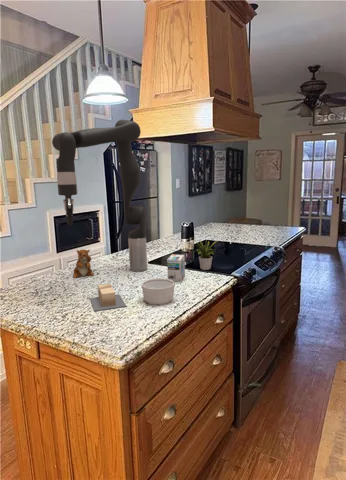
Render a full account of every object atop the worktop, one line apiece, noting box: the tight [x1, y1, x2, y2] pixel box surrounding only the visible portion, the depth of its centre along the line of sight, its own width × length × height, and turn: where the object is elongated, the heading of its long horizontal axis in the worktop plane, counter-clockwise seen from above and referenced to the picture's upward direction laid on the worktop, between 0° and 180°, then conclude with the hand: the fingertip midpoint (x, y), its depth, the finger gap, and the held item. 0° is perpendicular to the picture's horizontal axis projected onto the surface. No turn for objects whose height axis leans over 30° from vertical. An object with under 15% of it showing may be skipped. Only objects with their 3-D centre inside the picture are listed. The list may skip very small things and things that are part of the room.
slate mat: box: [89, 293, 127, 312], centre depth 134 cm, size 14×12×1 cm
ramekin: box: [141, 277, 176, 305], centre depth 136 cm, size 13×13×7 cm
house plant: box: [192, 239, 218, 271], centre depth 179 cm, size 14×14×16 cm
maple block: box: [97, 282, 116, 307], centre depth 135 cm, size 5×5×12 cm
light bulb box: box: [166, 254, 186, 283], centre depth 163 cm, size 11×7×11 cm, turn 168°
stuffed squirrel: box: [72, 249, 95, 279], centre depth 173 cm, size 10×14×13 cm
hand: (70, 225), depth 144 cm, fingers closed
